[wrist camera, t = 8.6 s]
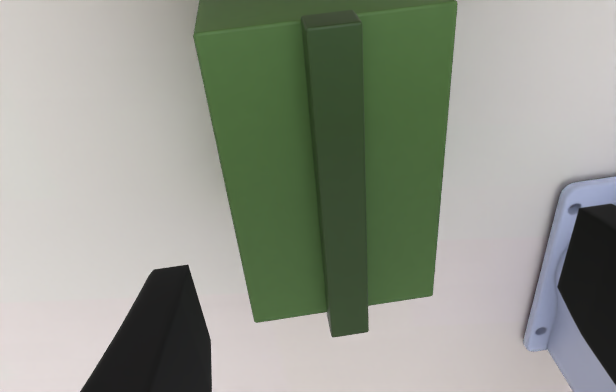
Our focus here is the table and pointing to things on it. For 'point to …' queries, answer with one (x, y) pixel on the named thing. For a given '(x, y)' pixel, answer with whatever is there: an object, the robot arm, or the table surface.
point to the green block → (330, 147)
